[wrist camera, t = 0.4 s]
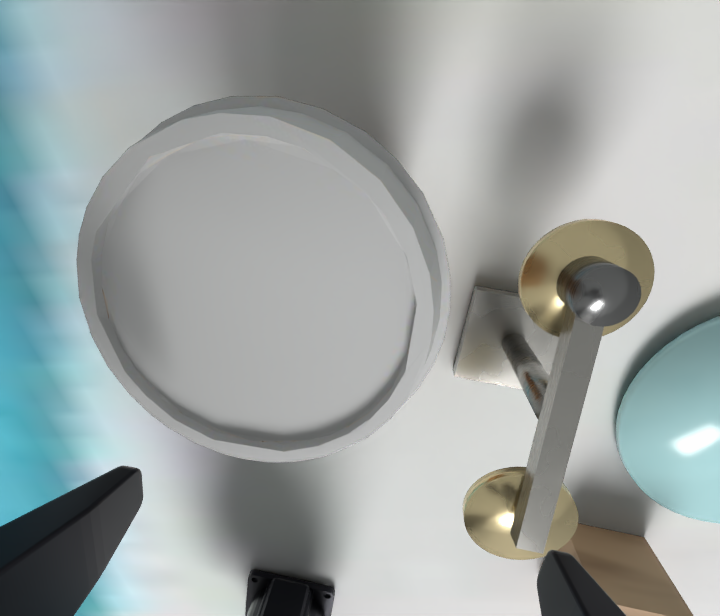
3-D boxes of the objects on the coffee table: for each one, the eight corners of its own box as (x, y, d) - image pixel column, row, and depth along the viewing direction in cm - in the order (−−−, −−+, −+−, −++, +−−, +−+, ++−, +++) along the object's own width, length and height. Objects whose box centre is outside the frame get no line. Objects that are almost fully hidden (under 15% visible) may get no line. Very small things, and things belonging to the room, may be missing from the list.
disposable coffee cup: (407, 106, 18) (401, 12, 7) (446, 299, 21) (488, 453, 10) (221, 162, 20) (-20, 160, 9) (280, 333, 23) (156, 495, 12)
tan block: (613, 590, 27) (657, 680, 22) (538, 573, 27) (565, 660, 22) (643, 535, 25) (697, 622, 20) (562, 519, 25) (597, 600, 20)
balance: (519, 451, 24) (577, 605, 15) (435, 434, 24) (449, 576, 16) (604, 213, 19) (758, 252, 10) (498, 196, 19) (565, 221, 11)
